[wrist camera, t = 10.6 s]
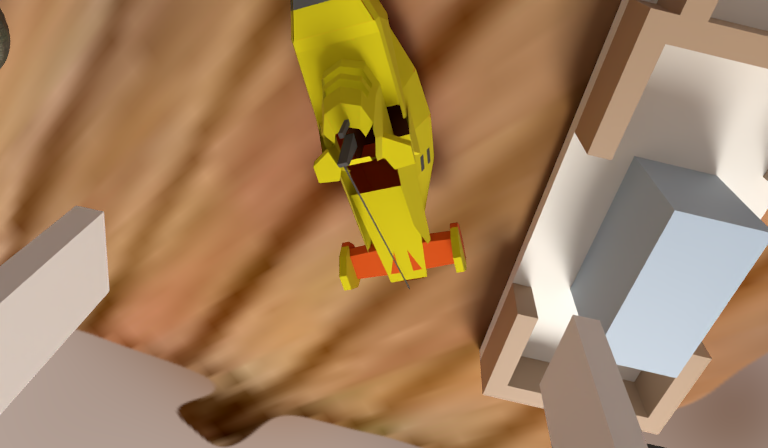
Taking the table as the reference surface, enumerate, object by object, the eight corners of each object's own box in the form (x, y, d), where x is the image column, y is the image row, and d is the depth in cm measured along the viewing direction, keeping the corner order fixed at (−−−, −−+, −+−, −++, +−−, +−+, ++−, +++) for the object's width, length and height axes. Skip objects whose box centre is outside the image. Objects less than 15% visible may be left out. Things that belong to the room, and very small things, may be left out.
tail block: (634, 156, 29) (674, 210, 24) (716, 175, 29) (774, 233, 24) (570, 288, 34) (592, 358, 28) (641, 305, 34) (676, 378, 29)
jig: (791, -417, 19) (866, -487, 16) (1101, -336, 20) (1240, -388, 16) (479, 350, 38) (482, 394, 35) (639, 387, 38) (658, 434, 35)
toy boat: (366, 253, 35) (340, 367, 27) (265, -52, 27) (180, -31, 18) (466, 236, 34) (473, 350, 25) (393, -91, 26) (365, -89, 17)
